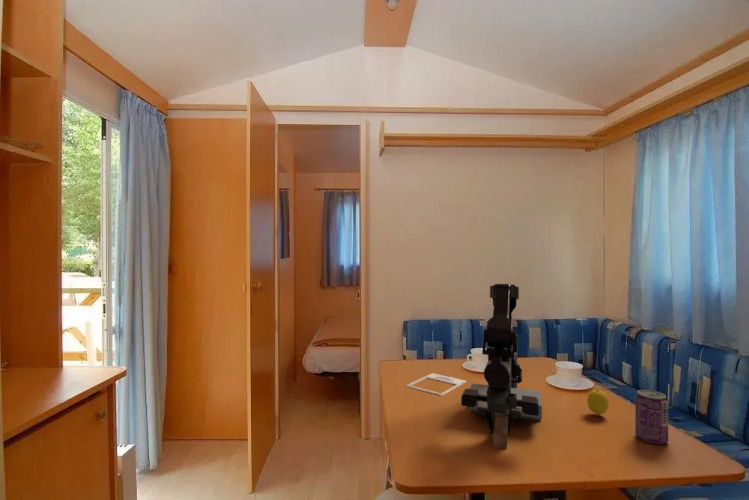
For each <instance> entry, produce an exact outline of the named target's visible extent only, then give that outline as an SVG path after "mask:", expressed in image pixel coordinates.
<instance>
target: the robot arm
mask: <svg viewBox="0 0 749 500" xmlns="http://www.w3.org/2000/svg"><path fill="white" fill-rule="evenodd" d="M489 298H490V299H492V306H493V311H492V317H491V318H489V319H488V320H487V323H486V328H483V334H482V335H483V338H482V351H481V354H482V355H484V356H487V362H486V364H485V368H484V369H483V378H484V380H485V381H486V383H487V385H488V389H487V396H486V395H479V390H473V389H470V388H464V390H463V391H462V394H461V398H460V402H461V403H460V405H461V406H463V407H466V408H467V407H474V406H475V405H476V404H478V407H477V410H478V411H481V412H482V413H483V416H484V418H485V421H486V423H487V427H488V429H489V432H490V435H491V434H493V422H492V413H500V414H502V415H506V414H508V409H509V414H508V436H509V435H510V431H511V428H512V426H513V423H514V421H515V419H517V418H516V417H517V416H521V411H523V413H524V414H527V415H534V416H538V415H539V403H538V399H537V398H536V397H532V396H523V395H522V400H519V399H517V397H516V394H513V393H511V388H518V384H521V383H522V382H523V370H522V368H521V366H520V365H521V364H518V357H517V355H516V354H517V353H518V335H517V333H516V330H513V314H512V313H513V311H514V310H515V309H516V308H517V303H518V301H517V300H520V288H519V286H516V284H514V283H513V284H512V283H494V284H493V285H490V286H489Z"/></svg>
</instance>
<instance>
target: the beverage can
mask: <svg viewBox="0 0 749 500" xmlns="http://www.w3.org/2000/svg"><path fill="white" fill-rule="evenodd" d="M634 401H635V403H634V405H635V415H634V416H635V417H634V418H635V419H634V420H635V423H634V424H635V426H634V428H635V429H634V430H635V432H634V433H635V436H637V437H638V438H640V439H641V440H642V441H644V442H646V443H648V444H653V445H662V444H666V443H668V442H669V403H668V400H667V395H666V394H664V393H662V392H660V391H655V390H651V389H639V390H637V395H636V396H635V400H634Z"/></svg>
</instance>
